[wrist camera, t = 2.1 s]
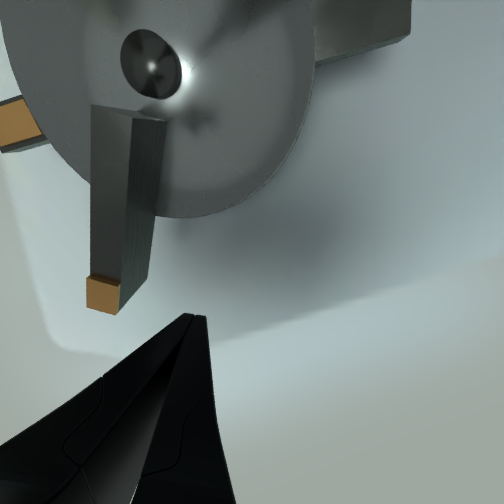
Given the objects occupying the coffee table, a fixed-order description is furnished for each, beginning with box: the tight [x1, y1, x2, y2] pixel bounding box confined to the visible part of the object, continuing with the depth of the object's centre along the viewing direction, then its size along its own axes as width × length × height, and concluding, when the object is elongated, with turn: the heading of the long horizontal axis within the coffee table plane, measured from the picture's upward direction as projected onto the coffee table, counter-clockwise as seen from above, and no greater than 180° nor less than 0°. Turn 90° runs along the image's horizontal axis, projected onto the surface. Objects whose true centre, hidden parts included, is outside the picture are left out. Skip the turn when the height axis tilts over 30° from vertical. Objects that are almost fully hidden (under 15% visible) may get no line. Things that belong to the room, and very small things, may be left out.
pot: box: [0, 0, 412, 205], centre depth 15 cm, size 24×15×5 cm, turn 103°
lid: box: [0, 0, 315, 315], centre depth 11 cm, size 19×15×5 cm
